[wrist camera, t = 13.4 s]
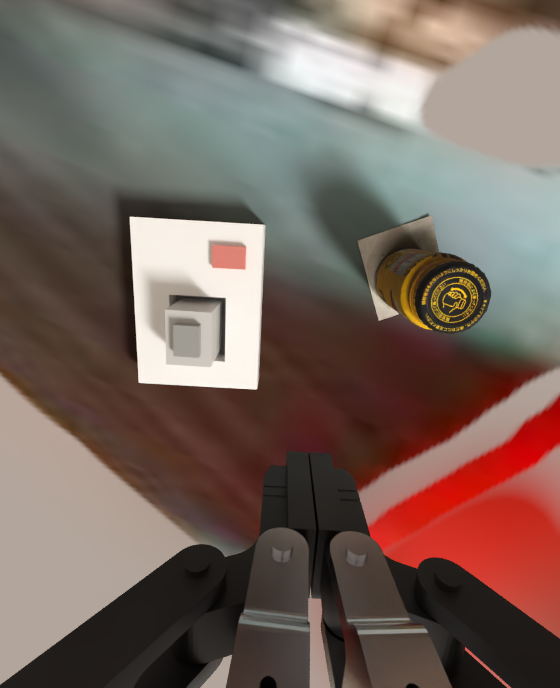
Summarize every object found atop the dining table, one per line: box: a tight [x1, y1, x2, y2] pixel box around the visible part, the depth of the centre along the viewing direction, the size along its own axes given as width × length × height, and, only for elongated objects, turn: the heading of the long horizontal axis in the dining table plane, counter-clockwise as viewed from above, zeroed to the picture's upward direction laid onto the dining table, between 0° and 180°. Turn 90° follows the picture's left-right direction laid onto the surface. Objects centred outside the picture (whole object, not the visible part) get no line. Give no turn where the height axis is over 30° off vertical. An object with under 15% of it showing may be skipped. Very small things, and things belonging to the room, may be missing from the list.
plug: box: [165, 298, 222, 367], centre depth 35 cm, size 5×4×7 cm
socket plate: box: [130, 217, 265, 389], centre depth 37 cm, size 16×12×4 cm
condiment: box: [358, 216, 491, 334], centre depth 32 cm, size 7×8×12 cm
